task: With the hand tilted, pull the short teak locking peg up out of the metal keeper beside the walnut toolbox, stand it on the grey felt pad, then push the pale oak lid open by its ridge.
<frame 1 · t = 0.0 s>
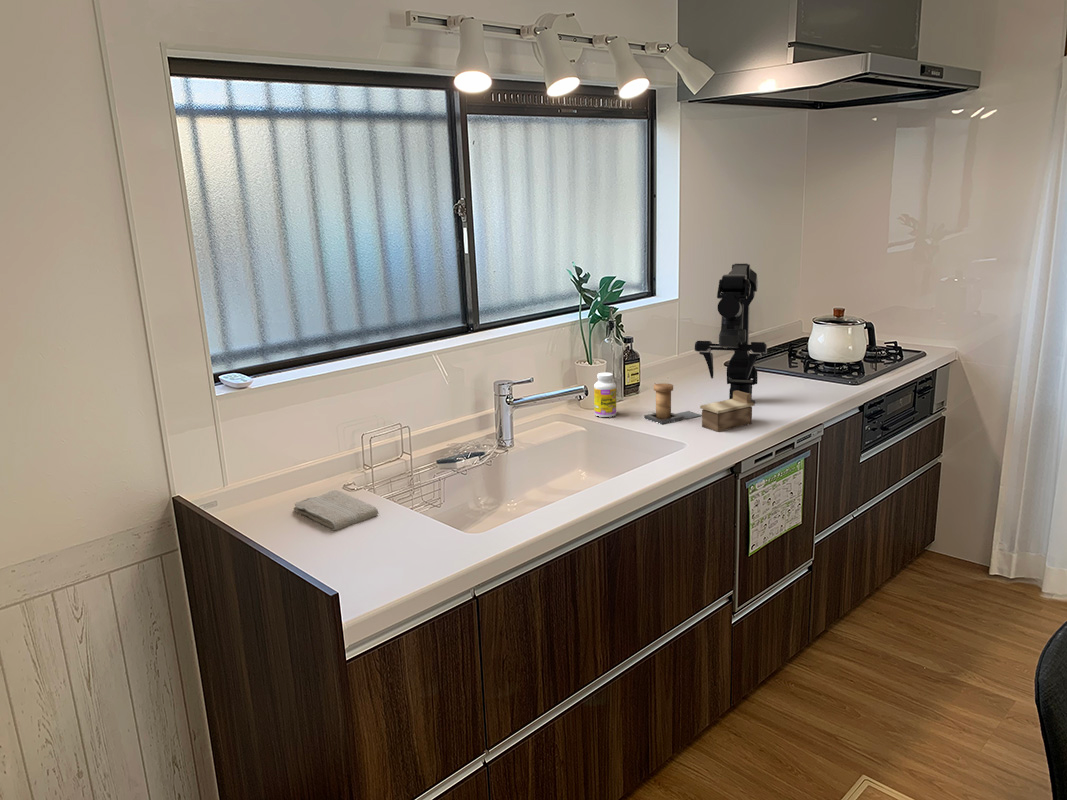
hand: (729, 379, 225), 15 cm above the worktop, tool pointing down, fingers open, 9 cm apart
key peg: (663, 402, 244), in the keeper
toolbox: (726, 425, 237), on the worktop
lid: (727, 401, 235), point 7 cm above the worktop, slide at 0.0 cm
felt pad: (687, 415, 248), on the worktop
keeper: (663, 419, 245), on the worktop
supplement bottle: (605, 416, 252), on the worktop
washcloth: (335, 516, 183), on the worktop
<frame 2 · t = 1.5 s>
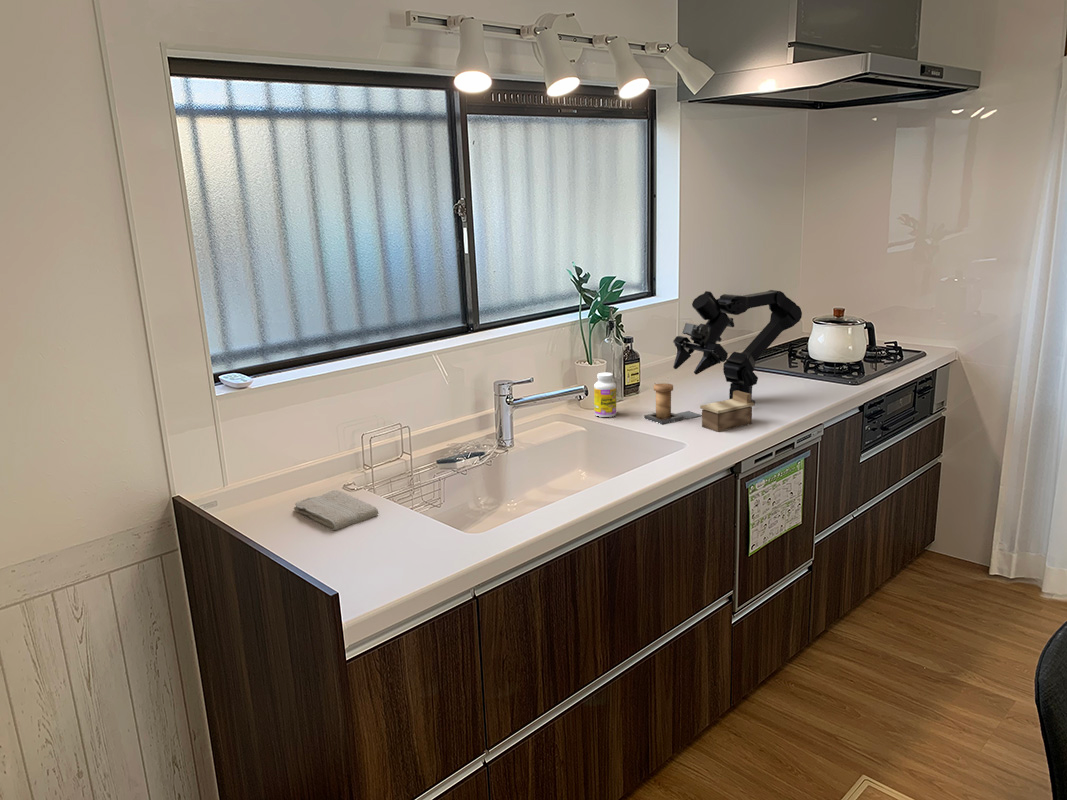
hand: (684, 371, 246), 13 cm above the worktop, tool tilted 45°, fingers open, 9 cm apart
nothing on the worktop moved.
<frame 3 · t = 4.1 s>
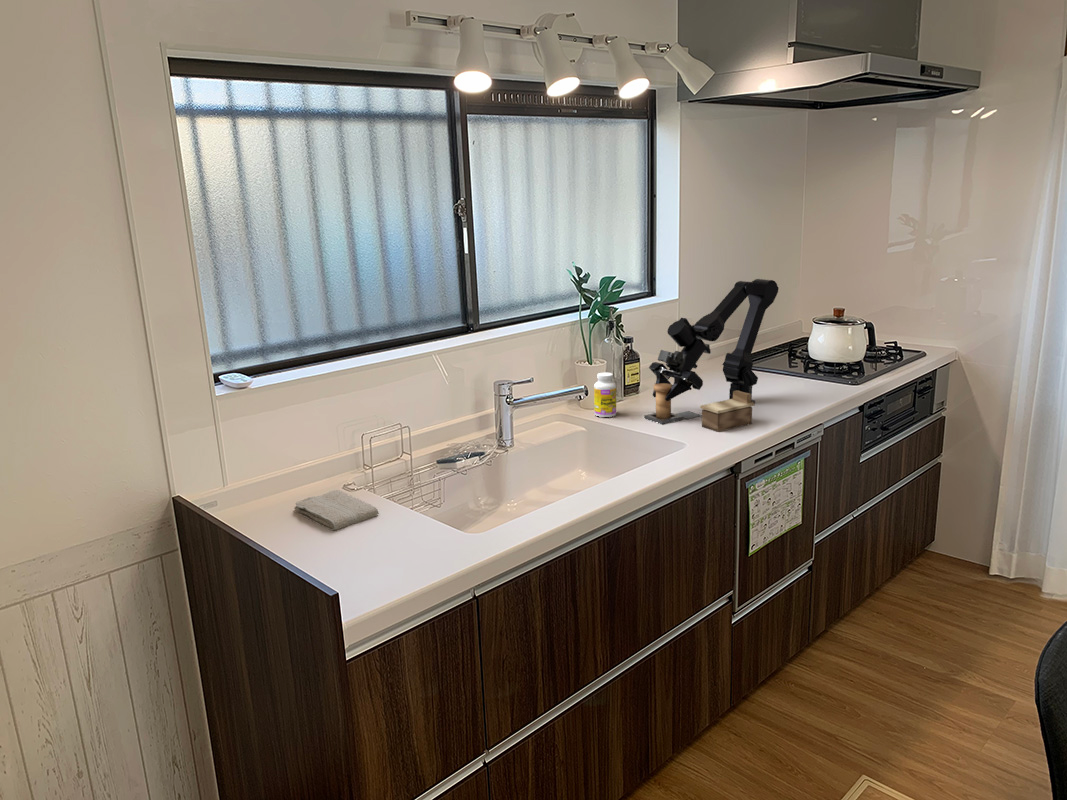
hand: (659, 398, 243), 7 cm above the worktop, tool tilted 45°, fingers closed on key peg, 5 cm apart
key peg: (663, 402, 244), in the keeper, touching gripper
everything else where it was.
when the fingers open (8 cm above the worktop, at t = 7.4 s): key peg stays where it is, resting on felt pad.
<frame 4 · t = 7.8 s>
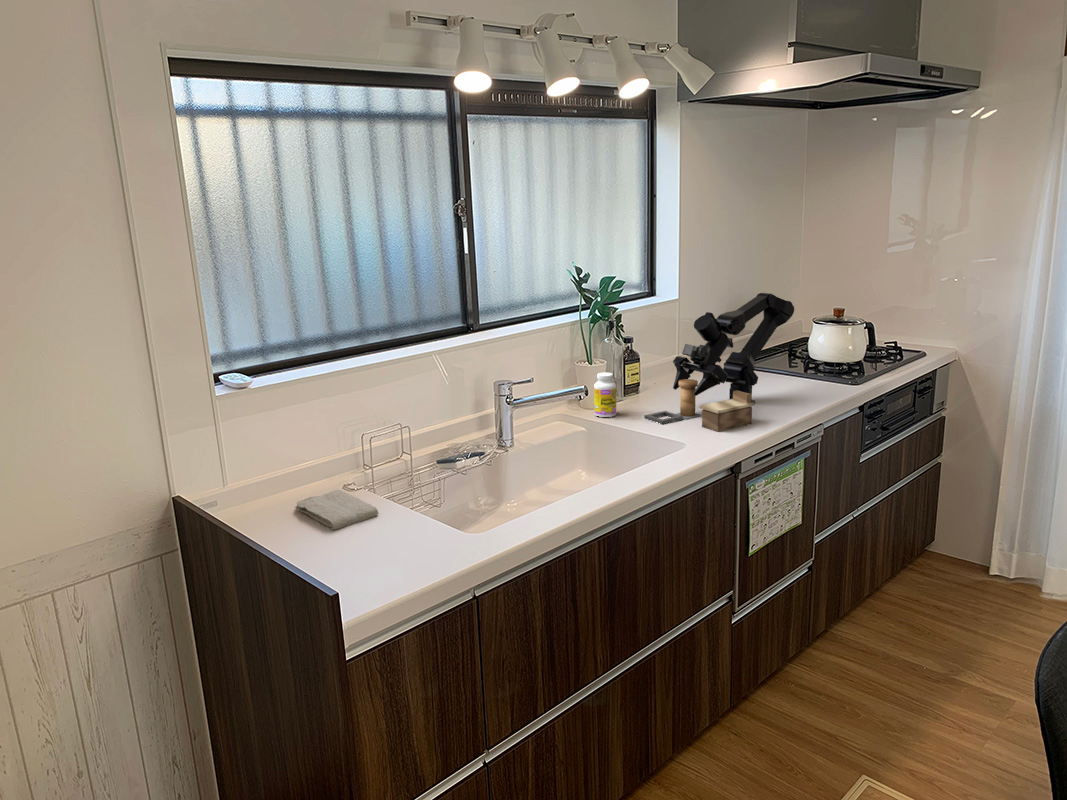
hand: (684, 391, 245), 8 cm above the worktop, tool tilted 45°, fingers open, 9 cm apart
key peg: (687, 398, 246), resting on felt pad
everything else where it was.
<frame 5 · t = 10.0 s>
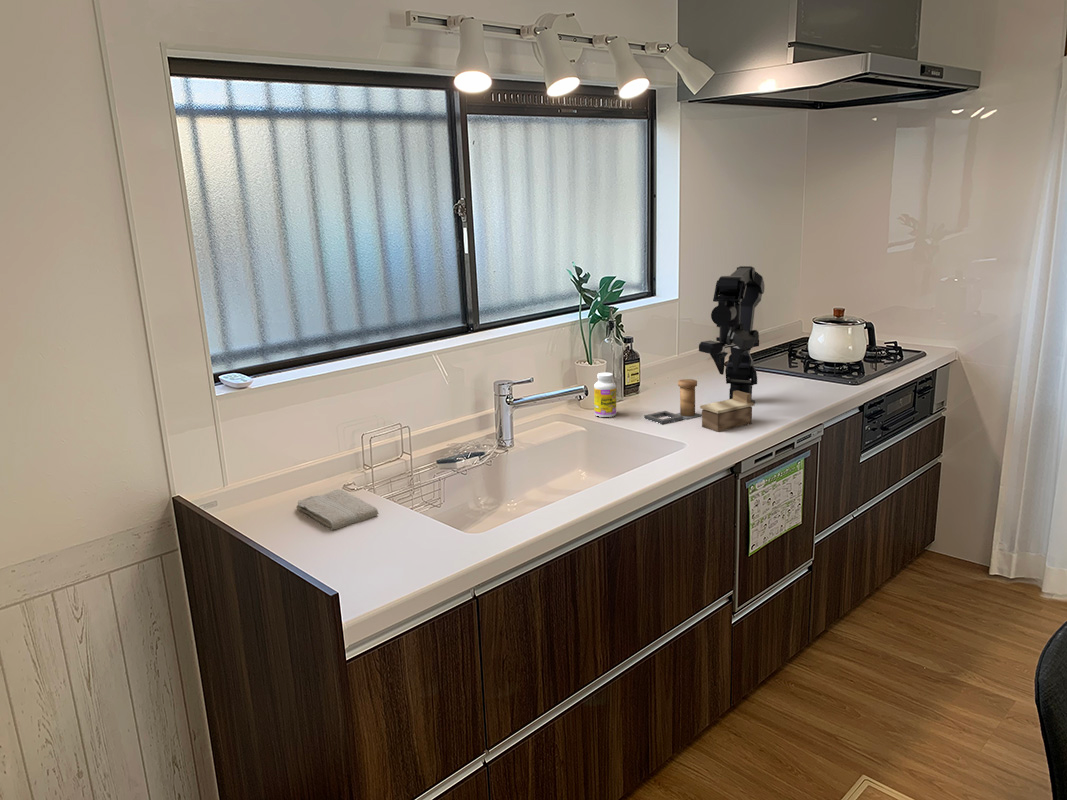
hand: (728, 373, 243), 13 cm above the worktop, tool pointing down, fingers open, 5 cm apart
nothing on the worktop moved.
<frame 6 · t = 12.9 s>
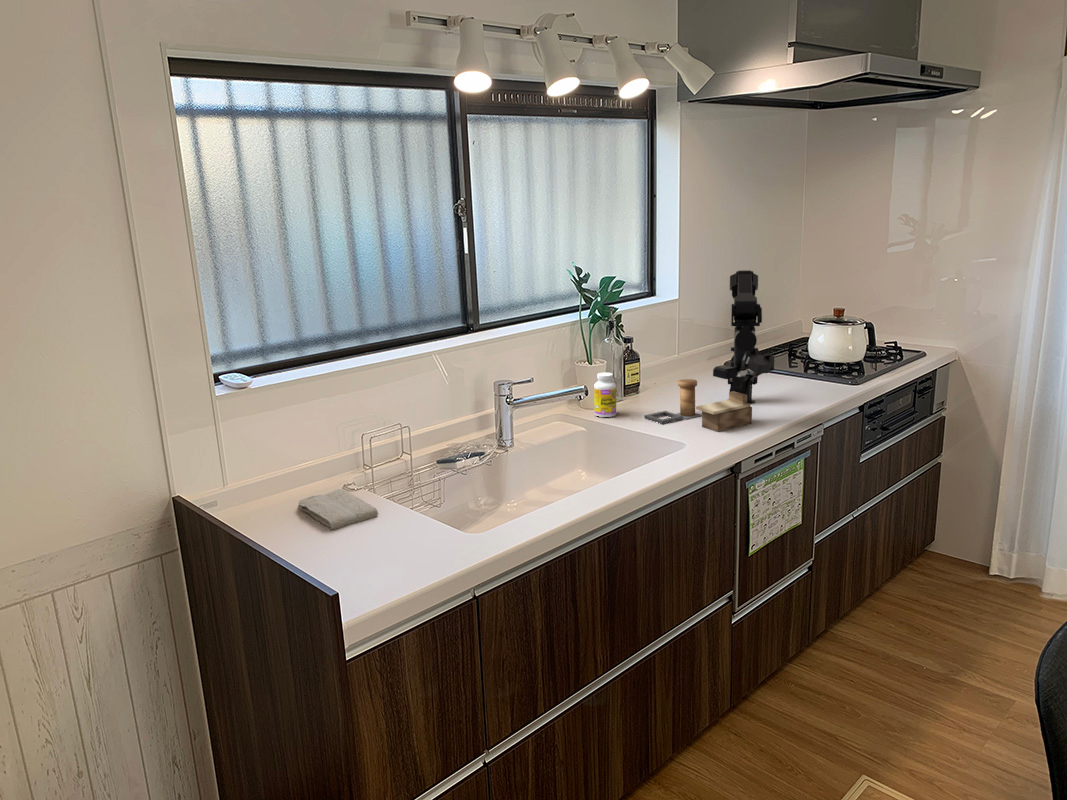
hand: (743, 397, 238), 7 cm above the worktop, tool pointing down, fingers closed
lid: (723, 402, 234), point 7 cm above the worktop, slide at 1.6 cm, touching gripper
everything else where it was.
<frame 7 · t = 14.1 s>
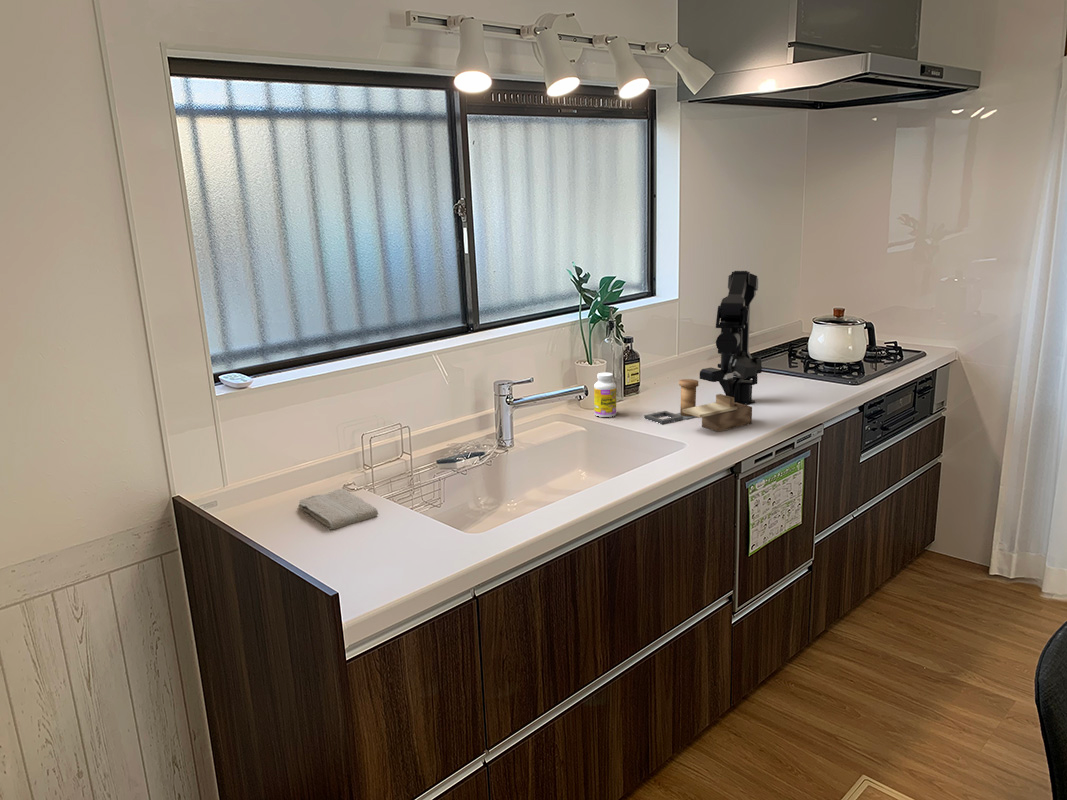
hand: (730, 400, 235), 7 cm above the worktop, tool pointing down, fingers closed
lid: (710, 405, 232), point 7 cm above the worktop, slide at 6.5 cm, touching gripper
everything else where it was.
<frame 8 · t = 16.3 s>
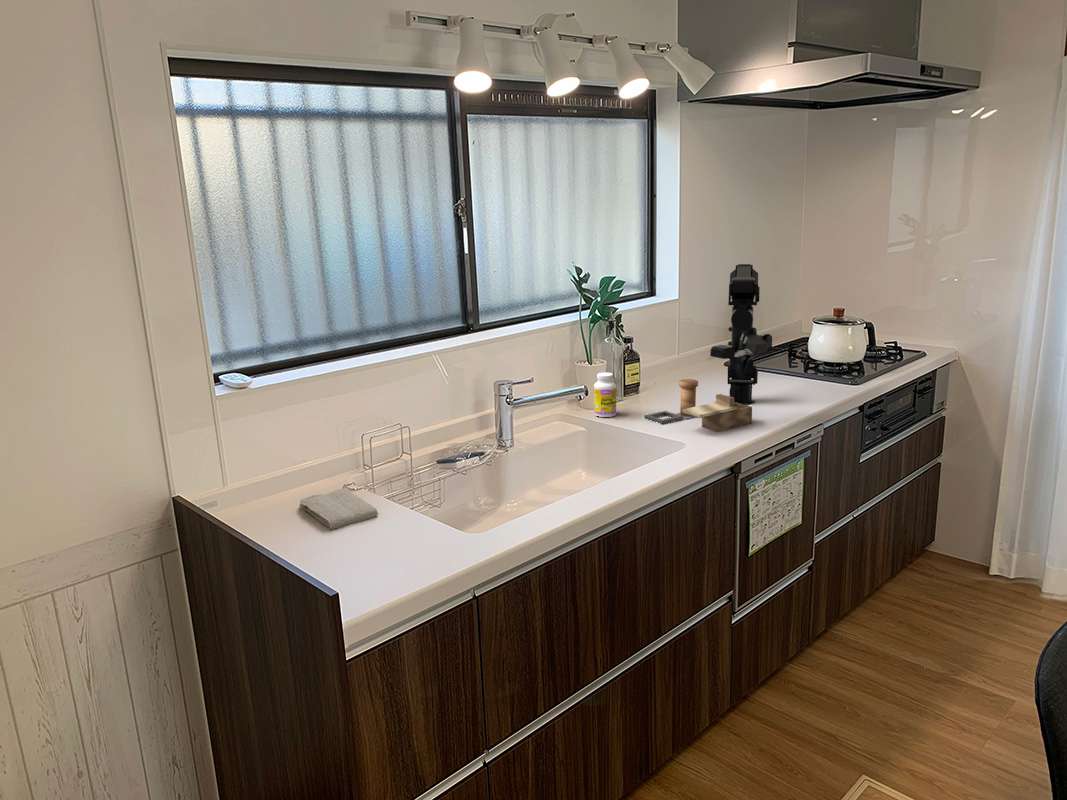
hand: (740, 378, 236), 13 cm above the worktop, tool pointing down, fingers closed
lid: (709, 405, 232), point 7 cm above the worktop, slide at 6.5 cm
everything else where it was.
at the end: key peg inside the target area (0.0 cm from its centre), resting on felt pad; key peg touching felt pad; lid slide at 6.5 cm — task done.
